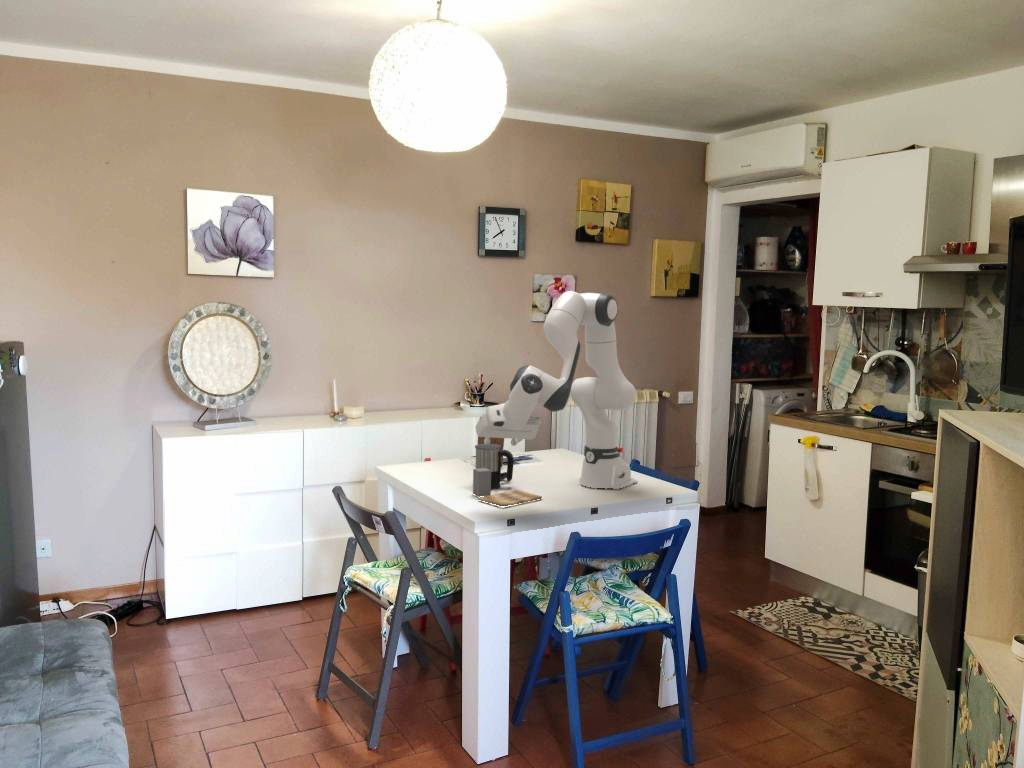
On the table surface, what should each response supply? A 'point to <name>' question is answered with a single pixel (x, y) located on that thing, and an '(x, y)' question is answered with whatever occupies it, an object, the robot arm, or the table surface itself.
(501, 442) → the block
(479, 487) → the block
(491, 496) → the board
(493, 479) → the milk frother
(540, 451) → the table surface
